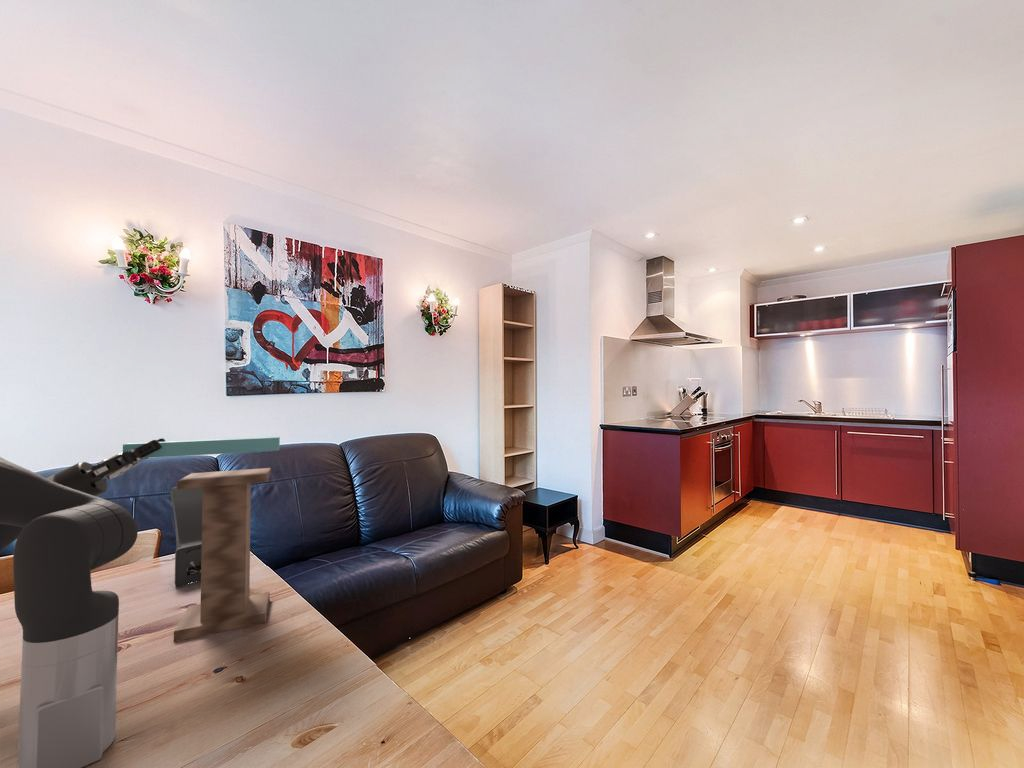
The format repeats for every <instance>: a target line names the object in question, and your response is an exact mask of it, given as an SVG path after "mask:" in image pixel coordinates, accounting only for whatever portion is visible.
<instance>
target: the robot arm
mask: <svg viewBox="0 0 1024 768" xmlns="http://www.w3.org/2000/svg"><path fill="white" fill-rule="evenodd" d="M166 441H167V440H166V439H165V438H163V437H162V438H159V439H152V440H151V441H148V443H146V444H144V445H142V446H140V447H138V448H136V450H135V449H131V450H129V451H127V452H123V451H122V452H120V453H117V454H115V455H113V456H111V457H109V458H106V459H104V460H101V461H99V462H97V463H96V464H97V465H94V464H92V463H89V462H87V461H80V462H77V463H76V464H74V465H72V466H71V465H70V466H69V467H67V468H65V469H64V470H61V471H59V472H57V473H54V474H53V475H51V476H49V477H45V476H43V475H40V474H38V473H36V472H33V471H32V470H29V469H28V468H25V467H22V466H21V465H18V464H16V463H13V462H11V461H9V460H7V459H5V458H3V457H1V456H0V552H1V551H2V550H4V549H5V548H6V547H8V546H9V545H11V544H12V543H13V542H15V544H14V548H13V549H14V550H13V555H12V556H13V557H12V561H13V562H12V566H13V567H12V570H13V590H14V595H13V596H14V611H15V615H16V618H17V620H18V622H19V624H20V625H21V627H22V628H21V629H22V641H21V642H22V647H21V666H20V667H21V669H20V671H21V672H20V695H19V718H18V719H19V721H18V722H19V723H18V749H17V751H18V752H17V753H18V754H17V768H84V767H86V766H89V765H90V764H93V763H95V762H97V761H100V760H102V759H103V754H104V752H105V751H106V750H107V749H108V748H109V747H110V746H111V745H112V744H113V742H114V741H115V738H116V728H117V725H116V724H117V722H116V721H117V720H116V719H117V718H116V717H117V688H118V687H117V685H118V684H117V678H118V651H119V650H118V643H119V642H118V641H119V614H120V613H119V611H120V599H119V595H118V593H116V592H114V591H111V590H93V587H92V577H91V576H92V575H91V571H93V570H95V569H97V568H99V567H103V566H105V565H106V564H109V563H112V562H113V561H115V560H117V559H118V558H121V557H122V556H124V555H125V554H127V553H128V552H129V551H130V550H131V549H132V547H134V545H135V544H136V541H137V538H138V531H139V530H138V524H137V523H136V521H135V519H134V517H133V515H132V514H131V513H130V511H128V510H127V509H126V508H124V507H123V506H121V505H119V504H118V503H115V502H113V501H111V500H108V499H105V498H102V497H99V496H100V495H103V494H104V493H106V492H107V490H108V483H107V481H106V480H107V479H108V480H109V481H110V480H112V479H113V478H118V477H119V476H121V475H123V474H124V473H125V472H126V471H128V470H130V469H132V468H135V467H137V466H138V465H139V464H140V463H141V462H143V461H145V460H148V459H149V458H143V457H145V456H147V455H149V454H151V453H153V452H155V451H157V450H159V449H161V447H162V446H161V445H160V443H159V442H166ZM141 457H142V458H141Z"/></svg>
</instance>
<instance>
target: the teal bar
mask: <svg viewBox="0 0 1024 768" xmlns="http://www.w3.org/2000/svg"><path fill="white" fill-rule="evenodd" d="M280 438H281V437H280V436H266V437H265V436H263V437H244V438H243V437H242V438H240V437H239V438H218V439H217V438H216V439H193V440H192V439H191V440H172V441H171V440H169V441H167V440H165V441H166V442H159V443H160V445H161V446H162V447H161V449H159V450H157V451H155V452H153V453H151V454H149V455H147V456H145V457H143V458H148V459H151V458H168V457H169V458H171V457H172V458H173V457H185V456H186V457H187V456H189V457H190V456H206V455H220V454H221V455H223V454H225V455H227V454H238V453H239V454H242V453H244V454H245V453H259V452H261V453H262V452H276V451H277V452H278V451H280V446H281V445H280V444H281V443H280V442H281V441H280V440H281V439H280ZM148 442H149V441H148ZM148 442H129V443H123V444H122V453H123V452H127V451H129V450H131V449H135V450H136V448H138V447H140V446H142V445H144V444H146V443H148ZM141 458H142V457H141Z"/></svg>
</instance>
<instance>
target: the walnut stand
mask: <svg viewBox="0 0 1024 768" xmlns="http://www.w3.org/2000/svg"><path fill="white" fill-rule="evenodd" d="M271 475H272V467H264V468H263V467H262V468H261V467H260V468H251V469H250V468H249V469H235V470H234V469H233V470H222V471H221V470H220V471H219V470H218V471H205V472H193V473H192V472H191V473H189V474H188V475H186V476H184V477H182V478H181V479H179V480H177V481H176V487H177V489H187V488H199V487H203V499H202V555H201V581H200V604H195V605H190V606H189V605H188V607H187V609H185V610H186V611H185V612H184V613H183V615H182V616H181V618H180V620H179V622H178V624H177V626H176V628H175V629H174V631H173V642H177V641H183V640H187V639H191V638H196V637H198V638H199V637H201V636H202V637H203V636H207V635H210V634H211V635H212V634H216V633H221V632H227V631H230V630H235V629H236V630H237V629H241V628H246V627H249V626H257V625H260V624H265V623H266V620H267V616H268V609H269V604H270V591H266V592H261V593H256V594H251V595H250V582H251V581H250V579H251V578H250V577H251V570H250V569H251V568H250V567H251V566H250V565H251V562H250V561H251V506H252V503H251V502H252V500H251V499H252V497H251V496H252V495H251V494H252V493H251V491H252V488H251V487H252V484H256V483H258V484H259V483H267V482H268V481H269V478H270V477H271Z"/></svg>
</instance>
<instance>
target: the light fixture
mask: <svg viewBox="0 0 1024 768" xmlns="http://www.w3.org/2000/svg"><path fill="white" fill-rule="evenodd" d="M169 494H170V498H171V499H170V500H171V504H172V510H173V518H174V527H175V542H176V543H175V545H176V549H175V551H174V552H175V553H174V585H175V587H177V588H180V587H183V585H184V586H187V584H188V583H189V584H188V585H191V584H190V583H191V582H196V581H197V582H196V583H198V581H200V582H201V555H202V499H203V487H199V488H187V489H177V486H174V487H172V488H171V491H170V493H169ZM179 586H180V587H179Z"/></svg>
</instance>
